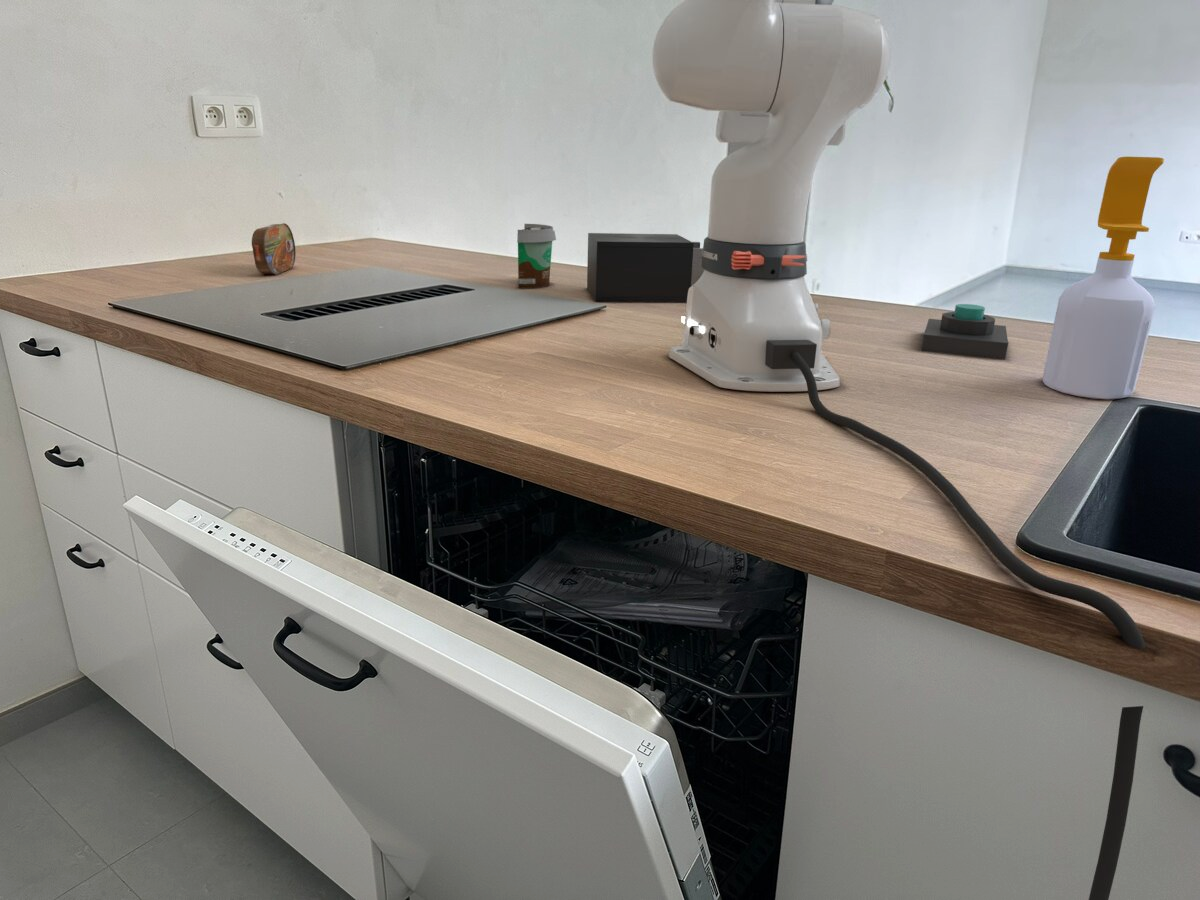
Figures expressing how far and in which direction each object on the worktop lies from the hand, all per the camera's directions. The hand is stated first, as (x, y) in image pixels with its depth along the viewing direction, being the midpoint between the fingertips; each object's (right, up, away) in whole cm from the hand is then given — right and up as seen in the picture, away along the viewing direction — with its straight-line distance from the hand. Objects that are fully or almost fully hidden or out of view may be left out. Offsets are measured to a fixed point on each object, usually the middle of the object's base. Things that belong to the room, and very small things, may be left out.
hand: (776, 174), depth 137 cm
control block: (+21, -30, -22) cm, 43 cm away
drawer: (-13, -17, +9) cm, 23 cm away
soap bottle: (+26, -37, -41) cm, 62 cm away
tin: (-88, -11, +22) cm, 92 cm away
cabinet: (-22, -18, +8) cm, 30 cm away
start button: (+21, -27, -24) cm, 41 cm away
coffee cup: (-39, -15, +17) cm, 45 cm away
